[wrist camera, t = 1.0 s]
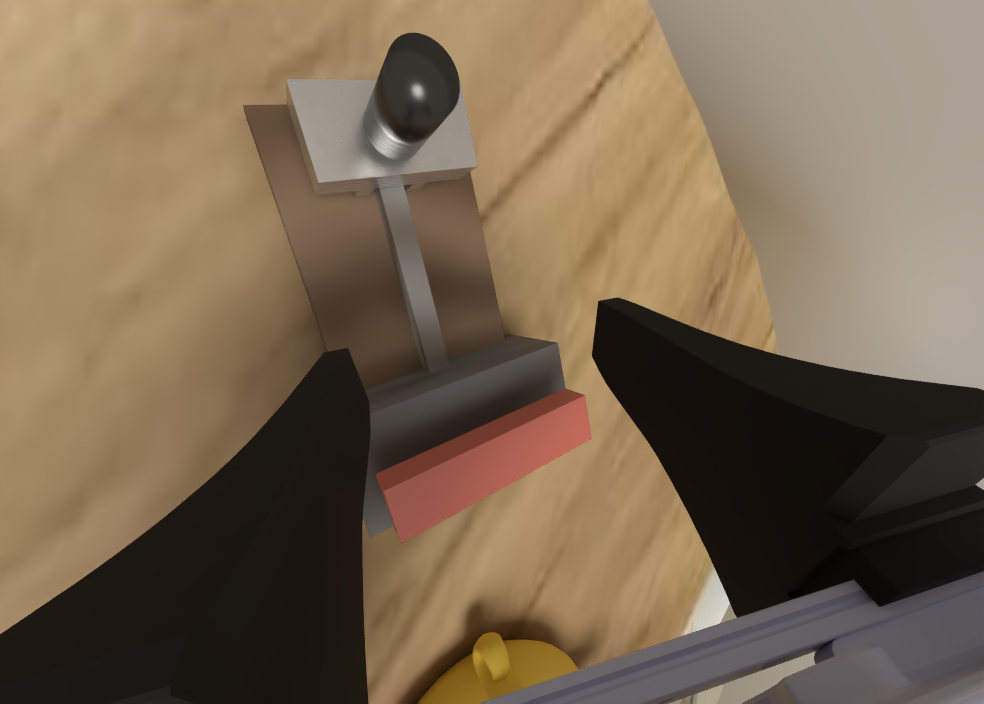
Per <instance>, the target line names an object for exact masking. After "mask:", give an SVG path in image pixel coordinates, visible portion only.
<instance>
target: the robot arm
mask: <svg viewBox="0 0 984 704" xmlns="http://www.w3.org/2000/svg"><path fill="white" fill-rule="evenodd" d="M592 357H593V359H594V361H595V363H596V365H597V367H598V369H599V371H600V373H601V375H602V377H603V379H604V381H605V382H606V384H607V385H608V387H609V388H610V390H611V391H612V392H613V394H614V395H615V397H616V398H617V400H618V401H619V402H620V404H621V405H622V407H623V408H624V409H625V411H626V412H627V413H628V415H629V416H630V418H631V419H632V420H633V422H634V423H635V424H636V426H637V427H638V429H639V430H640V431H641V433H642V434H643V435H644V437H645V438H646V440H647V441H648V443H649V444H650V446H651V447H652V449H653V450H654V452H655V453H656V455H657V457H658V459H659V460H660V462H661V464H662V466H663V467H664V469H665V471H666V473H667V474H668V476H669V478H670V480H671V481H672V483H673V485H674V487H675V489H676V491H677V493H678V495H679V496H680V498H681V500H682V502H683V504H684V506H685V508H686V510H687V511H688V513H689V515H690V517H691V519H692V521H693V523H694V526H695V528H696V530H697V532H698V534H699V536H700V538H701V540H702V542H703V544H704V546H705V548H706V550H707V552H708V554H709V556H710V559H711V561H712V563H713V565H714V568H715V570H716V572H717V574H718V576H719V579H720V581H721V583H722V585H723V587H724V590H725V592H726V594H727V597H728V599H729V601H730V604H731V606H732V609H733V611H734V613H735V615H736V616H737V618H736V619H733V620H729V621H726V622H724V623H720V624H717V625H714V626H711V627H708V628H705V629H702V630H699V631H696V632H693V633H690V634H687V635H684V636H681V637H678V638H675V639H672V640H669V641H666V642H663V643H660V644H657V645H653V646H650V647H647V648H644V649H641V650H638V651H635V652H632V653H629V654H626V655H623V656H620V657H617V658H614V659H611V660H608V661H605V662H602V663H599V664H596V665H593V666H590V667H587V668H584V669H580V670H577V671H574V672H571V673H568V674H565V675H562V676H559V677H556V678H553V679H550V680H547V681H544V682H541V683H538V684H535V685H532V686H529V687H526V688H523V689H520V690H517V691H514V692H511V693H508V694H504V695H501V696H498V697H495V698H492V699H489V700H486V701H483V702H480V703H477V704H668V703H671V702H674V701H677V700H679V699H682V698H685V697H688V696H691V695H694V694H696V693H699V692H702V691H705V690H708V689H711V688H713V687H716V686H719V685H722V684H725V683H727V682H730V681H733V680H736V679H738V678H742V677H744V676H747V675H750V674H753V673H756V672H758V671H761V670H764V669H767V668H770V667H772V666H775V665H778V664H781V663H784V662H786V661H790V660H792V659H795V658H798V657H801V656H803V655H806V654H809V653H812V652H815V651H816V652H815V656H814V661H815V664H816V665H814V666H811V667H808V668H806V669H804V670H801V671H799V672H797V673H794V674H792V675H790V676H787V677H785V678H783V679H782V680H781V681H780V682H779V683H778V684H777V685H775V686H773V687H771V688H770V689H768V690H767V691H765V692H763V693H761V694H759V695H757V696H755V697H754V698H751V699H749V700H748V701H746V702H743V703H742V704H984V490H982V489H981V488H980V487H978V486H977V485H975V484H976V483H978V482H979V481H980V480H981V479H983V478H984V390H981V389H978V388H971V387H963V386H955V385H946V384H938V383H930V382H921V381H913V380H904V379H898V378H891V377H885V376H879V375H872V374H866V373H861V372H855V371H849V370H844V369H839V368H834V367H828V366H824V365H819V364H815V363H810V362H806V361H801V360H797V359H793V358H789V357H785V356H780V355H777V354H773V353H769V352H766V351H763V350H759V349H756V348H752V347H749V346H745V345H742V344H739V343H736V342H733V341H730V340H727V339H724V338H721V337H718V336H715V335H713V334H710V333H707V332H704V331H702V330H699V329H696V328H694V327H691V326H689V325H686V324H684V323H681V322H679V321H676V320H674V319H671V318H669V317H667V316H664V315H662V314H659V313H657V312H655V311H652V310H650V309H647V308H645V307H643V306H640V305H638V304H635V303H632V302H630V301H627V300H624V299H621V298H612V299H607V300H602V301H598V308H597V317H596V325H595V333H594V342H593V350H592ZM370 436H371V428H370V403H369V400H368V397H367V394H366V392H365V389H364V387H363V384H362V382H361V379H360V377H359V374H358V372H357V369H356V367H355V364H354V362H353V359H352V356H351V354H350V351H349V349H348V348H344V349H339V350H333V351H328V352H324V354H323V355H322V356H321V357H320V358H319V360H318V361H317V362H316V363H315V365H314V366H313V367H312V368H311V370H310V371H309V372H308V374H307V375H306V376H305V377H304V379H303V380H302V381H301V382H300V384H299V385H298V386H297V387H296V389H295V390H294V391H293V392H292V394H291V395H290V396H289V397H288V398H287V400H286V401H285V402H284V403H283V405H282V406H281V407H280V408H279V409H278V410H277V411H276V412H275V414H274V415H273V416H272V417H271V418H270V419H269V420H268V421H267V422H266V424H265V425H264V426H263V427H262V428H261V429H260V430H259V431H258V433H257V434H256V435H255V436H254V437H253V438H252V439H251V440H250V441H249V442H248V443H247V444H246V445H245V446H244V447H243V448H242V449H241V450H240V451H239V452H238V453H237V454H236V455H235V456H234V457H233V458H232V459H231V460H230V461H229V462H228V463H227V464H226V465H225V466H223V467H222V468H221V469H220V470H219V471H218V472H217V473H216V474H215V475H214V476H213V477H212V478H210V479H209V480H208V481H207V482H206V483H205V484H204V485H202V486H201V487H200V488H199V489H198V490H196V491H195V492H194V493H193V494H192V495H190V496H189V497H188V498H187V499H186V500H185V501H183V502H182V503H181V504H180V505H179V506H177V507H176V508H175V509H174V510H173V511H171V512H170V513H169V514H168V515H167V516H165V517H164V518H163V519H162V520H160V521H159V522H158V523H157V524H155V525H154V526H153V527H152V528H150V529H149V530H148V531H146V532H145V533H144V534H142V535H141V536H140V537H139V538H137V539H136V540H135V541H133V542H132V543H131V544H129V545H128V546H127V547H125V548H124V549H123V550H121V551H120V552H118V553H117V554H116V555H114V556H113V557H112V558H110V559H109V560H108V561H106V562H105V563H104V564H102V565H101V566H99V567H98V568H97V569H95V570H94V571H92V572H91V573H90V574H88V575H87V576H85V577H84V578H83V579H81V580H80V581H78V582H77V583H75V584H74V585H72V586H71V587H70V588H68V589H67V590H65V591H64V592H62V593H61V594H59V595H58V596H56V597H55V598H53V599H52V600H50V601H49V602H47V603H46V604H44V605H43V606H41V607H40V608H38V609H37V610H35V611H34V612H33V613H31V614H30V615H28V616H27V617H25V618H24V619H22V620H21V621H19V622H18V623H16V624H15V625H13V626H12V627H10V628H9V629H7V630H6V631H4V632H3V633H1V634H0V704H368V691H367V674H366V657H365V635H364V610H363V569H362V521H363V506H364V496H365V486H366V477H367V467H368V457H369V447H370Z"/></svg>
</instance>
